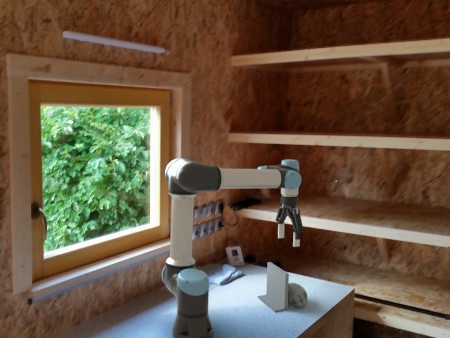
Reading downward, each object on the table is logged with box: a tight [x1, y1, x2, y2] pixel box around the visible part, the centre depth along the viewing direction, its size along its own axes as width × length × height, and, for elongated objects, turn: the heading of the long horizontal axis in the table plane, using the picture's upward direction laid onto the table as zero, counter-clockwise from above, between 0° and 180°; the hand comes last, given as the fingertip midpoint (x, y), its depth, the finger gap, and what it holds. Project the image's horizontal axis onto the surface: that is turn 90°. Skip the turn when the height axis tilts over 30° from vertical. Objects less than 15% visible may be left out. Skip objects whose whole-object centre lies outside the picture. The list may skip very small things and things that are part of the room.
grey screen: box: [257, 261, 290, 313], centre depth 201 cm, size 6×16×16 cm, turn 23°
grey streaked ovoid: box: [288, 282, 308, 309], centre depth 203 cm, size 14×10×10 cm
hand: (288, 242), depth 205 cm, fingers open, 13 cm apart
